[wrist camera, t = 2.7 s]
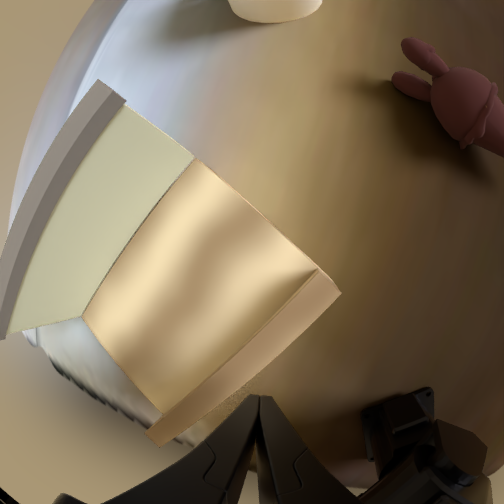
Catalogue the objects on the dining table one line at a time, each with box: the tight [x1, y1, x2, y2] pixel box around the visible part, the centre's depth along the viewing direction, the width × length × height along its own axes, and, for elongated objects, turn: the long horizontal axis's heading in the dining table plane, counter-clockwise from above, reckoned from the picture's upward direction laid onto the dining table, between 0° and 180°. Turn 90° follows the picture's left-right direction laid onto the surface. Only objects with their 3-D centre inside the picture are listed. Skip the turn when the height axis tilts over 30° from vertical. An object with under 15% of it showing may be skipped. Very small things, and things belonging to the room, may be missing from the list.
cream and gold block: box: [82, 158, 341, 448], centre depth 18 cm, size 12×16×7 cm
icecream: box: [392, 37, 504, 158], centre depth 14 cm, size 7×7×15 cm
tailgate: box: [0, 79, 195, 340], centre depth 14 cm, size 2×16×9 cm, turn 137°
